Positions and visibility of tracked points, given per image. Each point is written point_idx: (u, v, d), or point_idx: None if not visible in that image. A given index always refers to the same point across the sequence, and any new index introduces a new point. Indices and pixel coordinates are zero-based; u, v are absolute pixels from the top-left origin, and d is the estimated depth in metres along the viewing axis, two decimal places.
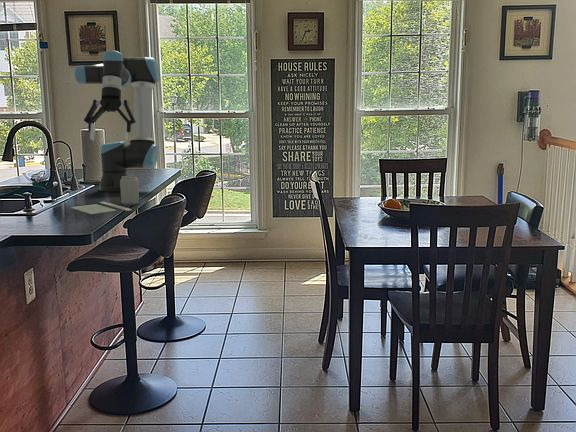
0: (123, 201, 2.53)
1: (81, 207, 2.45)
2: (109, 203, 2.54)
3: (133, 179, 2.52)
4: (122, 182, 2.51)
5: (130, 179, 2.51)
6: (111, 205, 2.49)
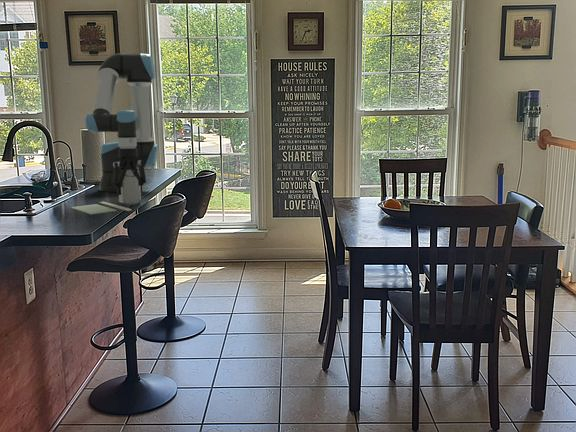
0: None
1: (81, 207, 2.45)
2: (109, 203, 2.54)
3: (133, 179, 2.52)
4: (122, 182, 2.51)
5: (130, 179, 2.51)
6: (111, 205, 2.49)
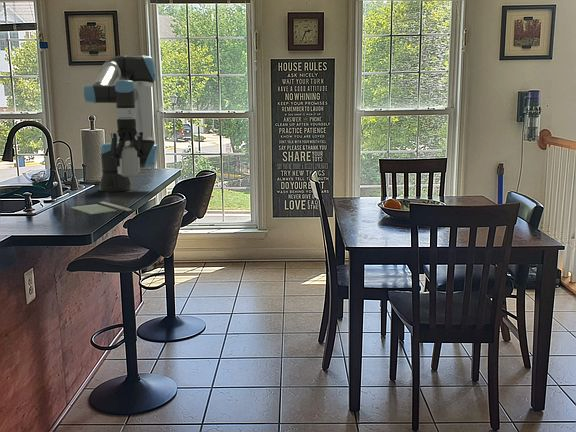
0: None
1: (81, 207, 2.45)
2: (109, 203, 2.54)
3: (132, 150, 2.50)
4: (121, 153, 2.49)
5: (129, 150, 2.49)
6: (111, 205, 2.49)
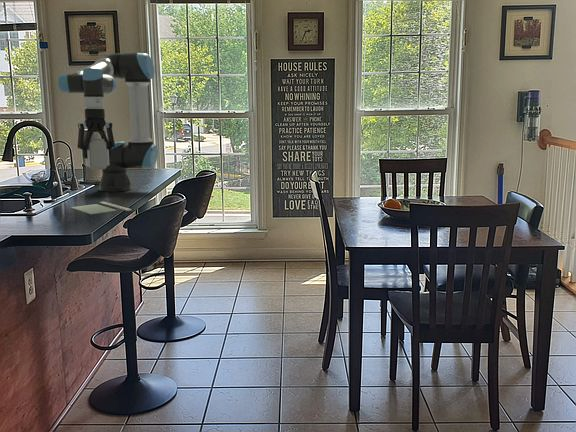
0: (90, 165, 2.38)
1: (81, 207, 2.45)
2: (109, 203, 2.54)
3: (100, 142, 2.37)
4: (89, 145, 2.37)
5: (97, 141, 2.37)
6: (111, 205, 2.49)
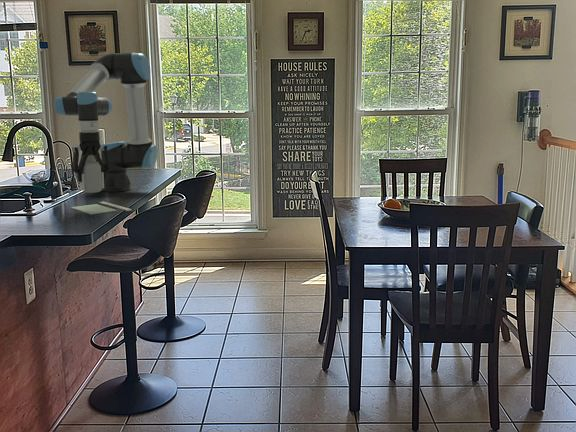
0: None
1: (81, 207, 2.45)
2: (109, 203, 2.54)
3: (95, 165, 2.37)
4: (83, 168, 2.36)
5: (92, 165, 2.36)
6: (111, 205, 2.49)
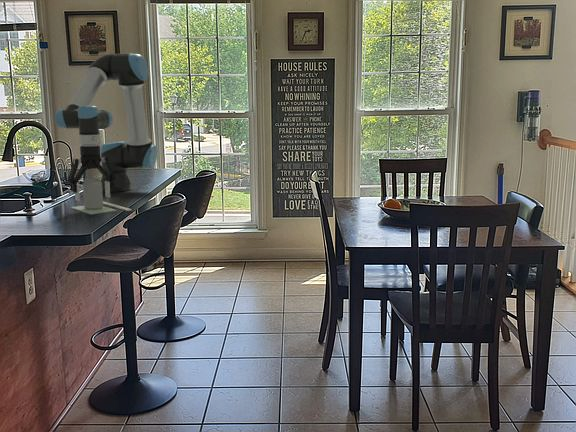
0: (86, 206, 2.39)
1: (81, 207, 2.45)
2: (109, 203, 2.54)
3: (96, 182, 2.39)
4: (84, 186, 2.38)
5: (93, 182, 2.38)
6: (111, 205, 2.49)
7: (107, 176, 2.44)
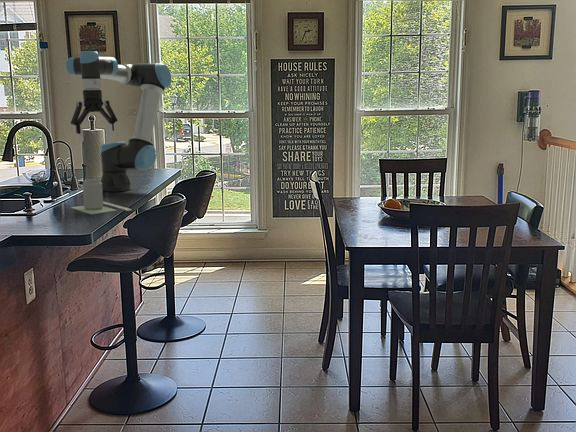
0: (86, 206, 2.39)
1: (81, 207, 2.45)
2: (109, 203, 2.54)
3: (96, 182, 2.39)
4: (84, 186, 2.38)
5: (93, 182, 2.38)
6: (111, 205, 2.49)
7: (109, 119, 2.58)
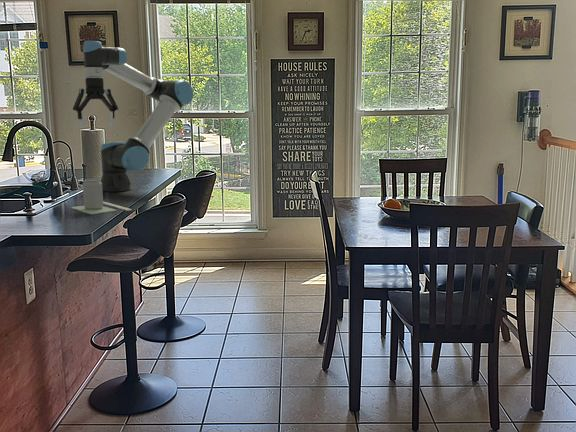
0: (86, 206, 2.39)
1: (81, 207, 2.45)
2: (109, 203, 2.54)
3: (96, 182, 2.39)
4: (84, 186, 2.38)
5: (93, 182, 2.38)
6: (111, 205, 2.49)
7: (110, 106, 2.69)
